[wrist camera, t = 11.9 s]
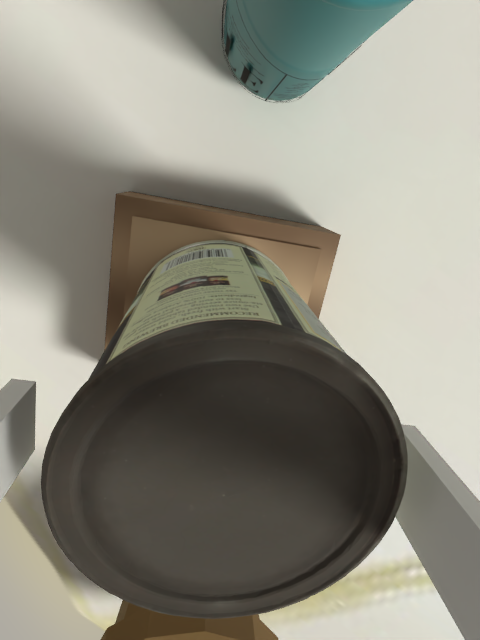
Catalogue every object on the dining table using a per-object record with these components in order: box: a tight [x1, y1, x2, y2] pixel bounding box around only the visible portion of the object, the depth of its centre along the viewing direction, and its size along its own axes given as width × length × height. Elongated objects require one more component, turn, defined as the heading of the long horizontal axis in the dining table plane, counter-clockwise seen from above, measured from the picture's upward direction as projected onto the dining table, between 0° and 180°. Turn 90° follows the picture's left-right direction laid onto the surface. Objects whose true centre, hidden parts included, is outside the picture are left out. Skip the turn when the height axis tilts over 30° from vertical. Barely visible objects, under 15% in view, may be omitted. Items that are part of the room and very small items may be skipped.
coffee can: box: [41, 240, 408, 619], centre depth 17 cm, size 10×10×14 cm
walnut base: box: [104, 191, 341, 351], centre depth 26 cm, size 13×13×4 cm
